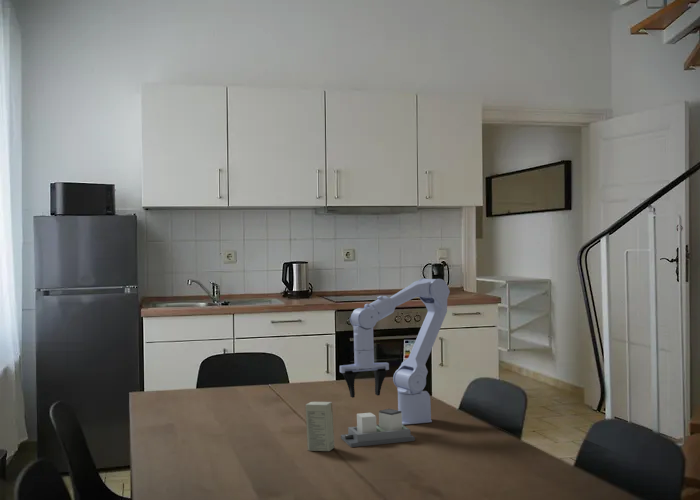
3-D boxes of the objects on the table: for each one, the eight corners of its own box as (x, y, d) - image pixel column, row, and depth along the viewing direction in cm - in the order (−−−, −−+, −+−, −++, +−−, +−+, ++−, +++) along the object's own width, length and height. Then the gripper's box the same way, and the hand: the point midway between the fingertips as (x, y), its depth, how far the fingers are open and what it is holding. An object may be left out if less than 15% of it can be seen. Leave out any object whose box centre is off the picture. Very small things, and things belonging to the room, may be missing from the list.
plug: (389, 431, 212) (389, 408, 212) (402, 434, 208) (401, 411, 208) (379, 434, 209) (378, 410, 209) (391, 437, 205) (391, 413, 205)
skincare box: (335, 447, 200) (333, 401, 200) (329, 452, 196) (328, 404, 196) (312, 446, 202) (311, 400, 202) (306, 450, 198) (305, 403, 198)
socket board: (402, 432, 214) (401, 407, 214) (414, 440, 205) (414, 415, 205) (340, 438, 209) (339, 413, 209) (350, 447, 200) (349, 420, 200)
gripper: (383, 346, 227) (384, 391, 227) (336, 349, 223) (337, 395, 223) (390, 349, 220) (392, 395, 220) (342, 352, 216) (343, 399, 216)
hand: (365, 395), depth 221 cm, fingers open, 7 cm apart
